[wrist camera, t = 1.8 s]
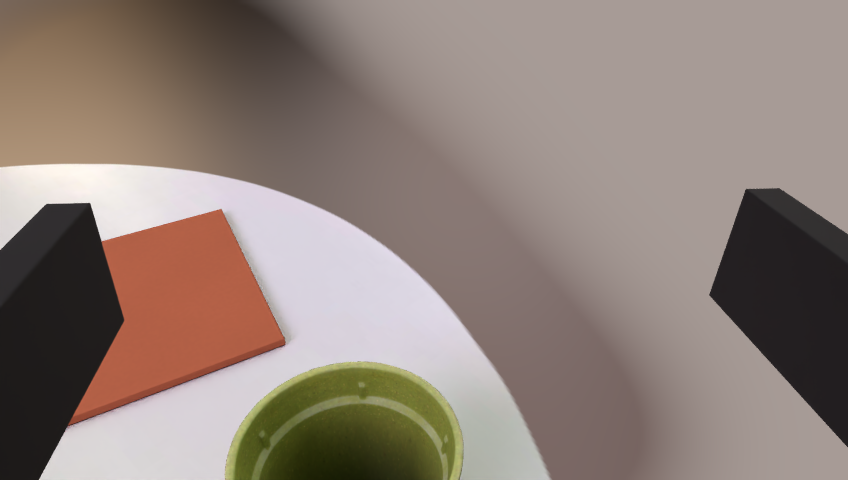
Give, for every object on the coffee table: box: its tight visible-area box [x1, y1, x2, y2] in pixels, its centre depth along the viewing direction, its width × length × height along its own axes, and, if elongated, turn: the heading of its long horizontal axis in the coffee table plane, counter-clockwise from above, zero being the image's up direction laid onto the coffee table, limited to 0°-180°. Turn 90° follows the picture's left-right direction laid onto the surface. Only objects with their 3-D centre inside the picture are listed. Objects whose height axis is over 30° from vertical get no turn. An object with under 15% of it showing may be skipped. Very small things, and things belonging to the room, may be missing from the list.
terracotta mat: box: [68, 209, 285, 426], centre depth 43 cm, size 20×20×1 cm
